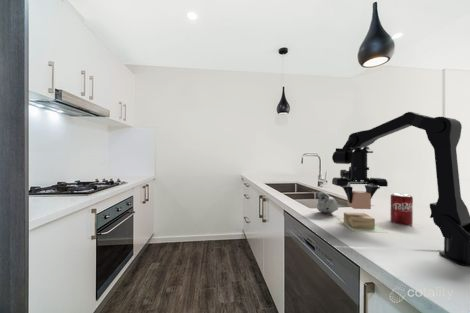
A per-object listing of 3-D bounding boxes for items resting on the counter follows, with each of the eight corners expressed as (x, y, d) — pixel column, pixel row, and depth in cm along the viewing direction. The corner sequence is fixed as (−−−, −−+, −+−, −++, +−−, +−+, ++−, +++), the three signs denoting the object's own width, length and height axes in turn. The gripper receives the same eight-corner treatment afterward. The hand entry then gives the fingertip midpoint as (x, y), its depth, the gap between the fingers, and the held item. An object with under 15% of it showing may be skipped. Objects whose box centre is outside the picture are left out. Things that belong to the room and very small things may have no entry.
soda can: (416, 227, 82) (417, 197, 82) (396, 225, 84) (396, 196, 84) (405, 221, 90) (406, 193, 90) (387, 220, 91) (387, 193, 91)
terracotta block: (370, 209, 79) (370, 193, 79) (354, 208, 80) (354, 193, 80) (362, 205, 85) (362, 190, 85) (347, 205, 86) (347, 190, 86)
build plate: (388, 234, 75) (388, 232, 75) (353, 232, 76) (353, 231, 76) (364, 220, 91) (364, 218, 91) (336, 219, 92) (336, 218, 92)
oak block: (374, 229, 78) (374, 218, 78) (352, 228, 79) (352, 218, 79) (363, 222, 86) (363, 212, 86) (343, 221, 87) (343, 212, 87)
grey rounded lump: (343, 218, 92) (341, 191, 94) (321, 218, 93) (320, 191, 95) (333, 216, 102) (332, 191, 104) (314, 215, 103) (313, 191, 105)
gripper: (372, 163, 90) (372, 199, 90) (327, 163, 91) (327, 198, 92) (388, 164, 79) (388, 205, 79) (337, 164, 80) (337, 204, 80)
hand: (358, 203), depth 83 cm, fingers closed on terracotta block, 6 cm apart
